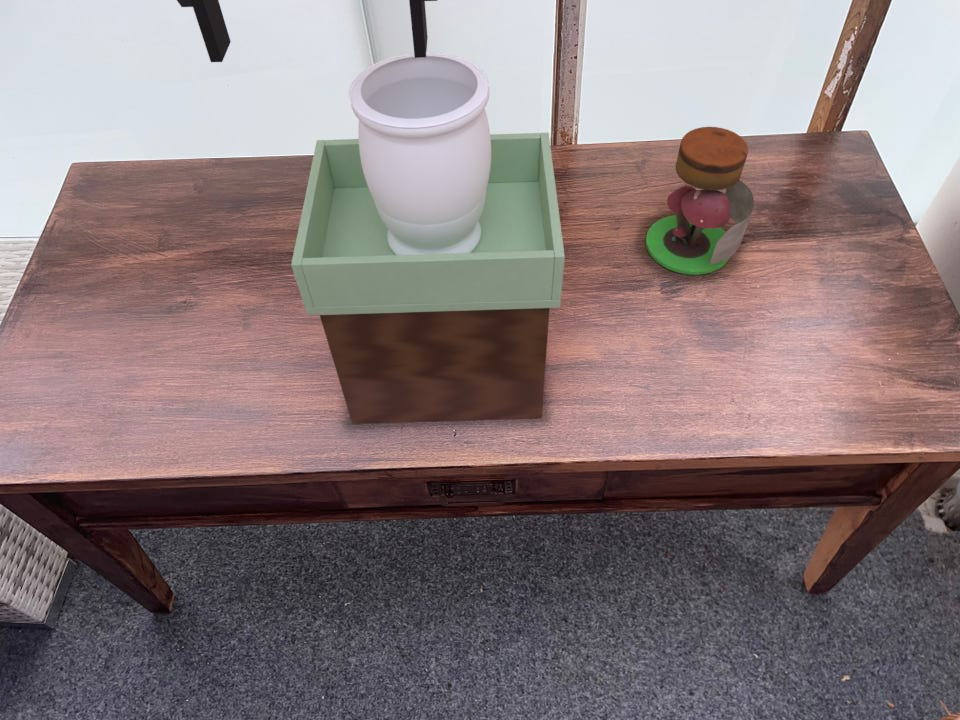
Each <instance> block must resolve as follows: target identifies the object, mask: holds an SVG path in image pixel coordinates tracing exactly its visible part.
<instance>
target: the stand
mask: <svg viewBox="0 0 960 720" xmlns="http://www.w3.org/2000/svg"><path fill="white" fill-rule="evenodd" d="M550 310H551V308H534V309H502V310H469V311H437V312H405V313H373V314H340V315H319V317H320V321H321V325H322V328H323V331H324V334H325V335H324V336H325V337H326V342H327V344H328V348H329V352H330V354H331V358H332V361H333V364H334V368H335V371H336V375H337V379H338V381H339V384H340V388H341V391H342V394H343V397H344V401H345V405H346V407H347V408H346V409H347V411H348V414H349V419H350V421H351V424H352V425H361V424H392V423H393V424H395V423H396V424H397V423H426V422H427V423H429V422H460V421H461V422H462V421H490V420H491V421H494V420H496V421H497V420H498V421H499V420H528V419H530V420H531V419H542V418H543V404H544V390H545V379H546V377H545V376H546V364H547V363H546V362H547V350H548V338H549V337H548V336H549V321H550Z"/></svg>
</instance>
